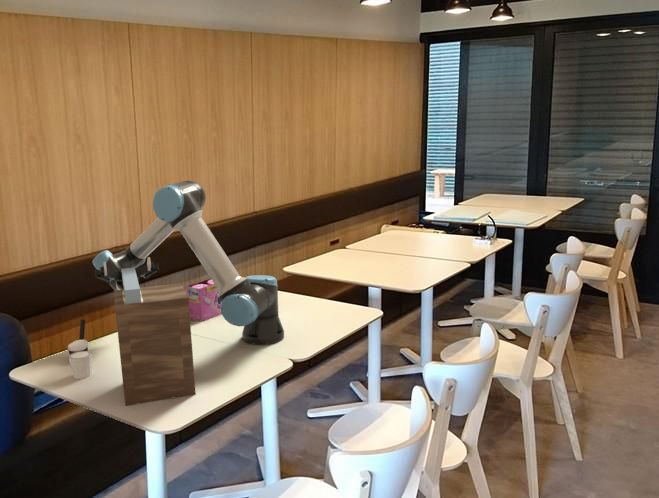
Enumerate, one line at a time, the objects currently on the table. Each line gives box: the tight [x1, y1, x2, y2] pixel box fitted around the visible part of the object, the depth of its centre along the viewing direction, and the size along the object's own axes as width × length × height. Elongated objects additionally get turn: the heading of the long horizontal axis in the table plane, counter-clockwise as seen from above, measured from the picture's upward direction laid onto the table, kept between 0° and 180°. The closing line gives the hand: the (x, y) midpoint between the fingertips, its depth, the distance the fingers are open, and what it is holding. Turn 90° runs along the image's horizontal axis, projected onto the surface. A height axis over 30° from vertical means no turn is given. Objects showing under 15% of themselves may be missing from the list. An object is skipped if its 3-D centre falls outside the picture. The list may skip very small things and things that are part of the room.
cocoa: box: [67, 319, 89, 355], centre depth 223 cm, size 10×6×12 cm, turn 148°
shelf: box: [113, 283, 197, 407], centre depth 195 cm, size 16×20×30 cm
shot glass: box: [68, 350, 93, 380], centre depth 209 cm, size 7×7×7 cm
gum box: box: [186, 277, 222, 322], centre depth 267 cm, size 24×8×14 cm, turn 144°
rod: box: [121, 268, 141, 304], centre depth 194 cm, size 25×4×4 cm, turn 19°
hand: (127, 263), depth 209 cm, fingers open, 13 cm apart
